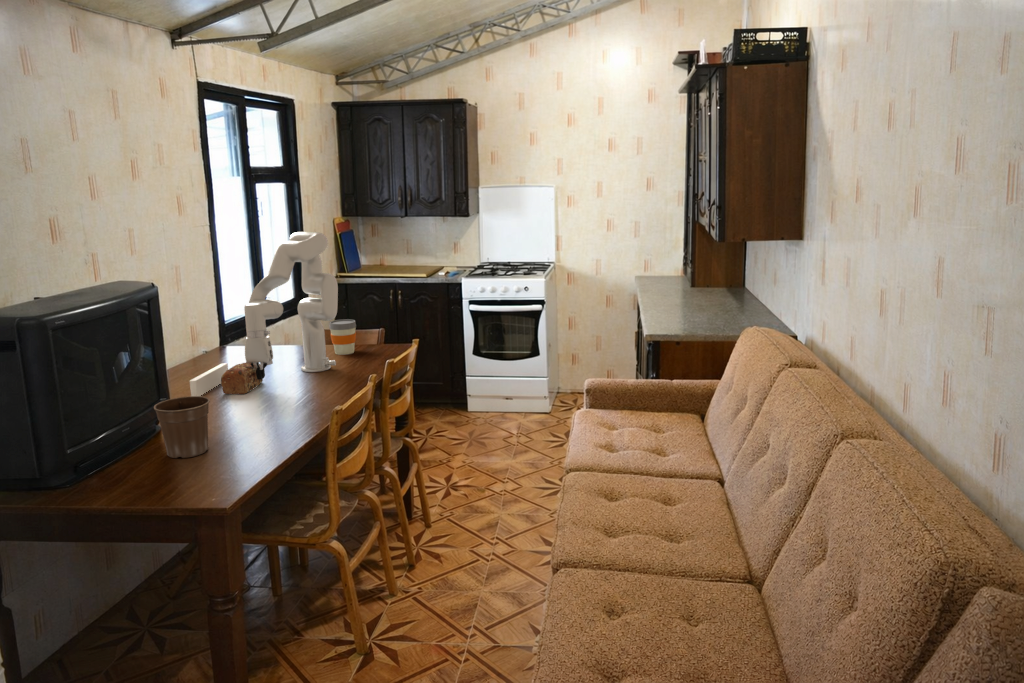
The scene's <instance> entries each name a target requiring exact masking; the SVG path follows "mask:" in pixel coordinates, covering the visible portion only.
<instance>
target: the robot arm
mask: <svg viewBox="0 0 1024 683" xmlns="http://www.w3.org/2000/svg"><path fill="white" fill-rule="evenodd" d="M328 244H329V242H328V238H327V236H326V235H325V234H324V233H322V232H316V231H315V232H314V231H313V232H312V231H310V232H309V231H297V232H293V233H292V234H290V237H289V240H288V241H287V240H286V241H282V242H280V243H279V244H278V245H277V247H276V250H275V253H274V256H273V258H272V262H271V263H270V264H271V265H270V268H269V271H268V273H267V275H265V276H264V277H263V278H262V279H261V280H260V281H259V283H257V284H256V285H255V287H254V288H253V290H252V292H251V294H250V298H249V300H248V303H247V304H245V305H244V309H243V310H244V317H245V330H246V338H245V340H244V356H245V357H244V358H245V363H246V364H247V365H251V366H252V367H254V369H255V370H256V377H257V379H258V380H259V379H260V380H262V379H263V380H264V378H265V376H266V374H265V371H266V370H265V369H266V367H268V366H271V365H272V364H274V362H273V359H274V352H273V346H272V341H271V339H270V336H269V335H270V334H271V331H270V330H267V323H266V320H275V319H278V318H280V317H281V316H282V315H283V312H284V306H283V303H281V302H280V301H278V300H275V299H266V298H267V296H268V295H269V294H270V292H271V291H273V290H274V289H276V288H279V287H281V286H282V285H284V284H286V283H288V282H289V281H290V279H291V278H290V277H291V275H292V272H293V269H294V266H295V264H296V263H301V289H302V291H303V292H304V293H305V294H306V295H314V296H320V297H305V298H303V299H301V300H300V301H299V302H298V304H297V313H298V318H299V321H300V326H301V334H302V347H303V348H302V349H303V358H304V365H302V366H301V367H300V368H301V371H302V372H306V373H317V372H324V371H328V370H330V369H331V367H332V366H336V365H337V361H336V360H335V359H332V360H330V359H329V356H328V357H327V349H326V334H325V332H326V331H325V327H324V324H323V322H324V321H325V322H331V321H334V319H335V318H336V316H337V313H338V303H339V302H338V301H339V298H338V296H339V293H338V292H339V286H338V280H337V278H336V276H334V275H333V274H331V273H329V272H327V273H326V272H323V263H322V262H323V261H322V258H321V254H322V253H324V252H325V251H326V250H327V248H328ZM259 364H260V365H259Z"/></svg>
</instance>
